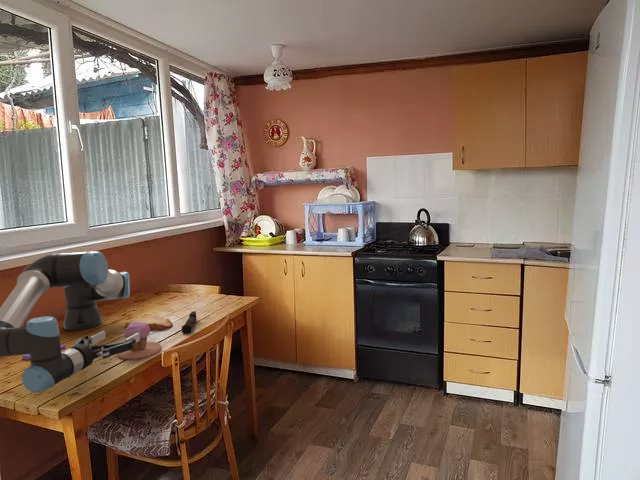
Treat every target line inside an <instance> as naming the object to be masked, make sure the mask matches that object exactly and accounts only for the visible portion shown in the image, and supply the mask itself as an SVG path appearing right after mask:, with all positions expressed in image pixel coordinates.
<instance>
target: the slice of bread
mask: <svg viewBox="0 0 640 480" xmlns="http://www.w3.org/2000/svg"><path fill="white" fill-rule="evenodd" d="M134 322H142V323H147V324H148V326H149V327H150V331H164V330H165V331H166V330H170V329H172V328H173V327H174V325H173V322H172V320H170V319H169V318H167V317H166V318H165V317H152V318H139V319H134V320H130V321H126V322H125V324H124V326H123V328H124V329H126V328H127V327H128V325H129V324H131V323H134Z"/></svg>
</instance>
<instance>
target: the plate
mask: <svg viewBox="0 0 640 480" xmlns="http://www.w3.org/2000/svg"><path fill="white" fill-rule="evenodd" d="M161 351H162V345H161V343H159V342H156V341H147V343H146V346H145V348H144V349H143V350H139V351H131V350H129V351H125V352H122V353H119V354H116V356H117V358H118V359H120V360H127V361H129V360H130V361H131V360H133V361H134V360H142V359H146V358H149V357H152V356H154V355H157V354H158V353H160V352H161Z"/></svg>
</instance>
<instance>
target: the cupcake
mask: <svg viewBox="0 0 640 480" xmlns="http://www.w3.org/2000/svg"><path fill="white" fill-rule="evenodd" d="M136 333H139V336H140V341H138V342H136V343H135V344H133V349H132V350H131V351H139V350H143V349H144V348H145V346H146V343H147V342H148V337H149V335H150V334H151V330H150V327H149V326H148V324H147V323H142V322H134V323H131V324H129V325H128V327H127V328H125V331H124V338H125V339H127V338H128V337H130V336H132V335H134V334H136Z"/></svg>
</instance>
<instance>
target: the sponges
mask: <svg viewBox="0 0 640 480" xmlns="http://www.w3.org/2000/svg"><path fill="white" fill-rule="evenodd" d="M60 345H61V351H62V350H63V351H64V350H66V344H60ZM21 356H22V360H30V355H29V354H25V355H21Z"/></svg>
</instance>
